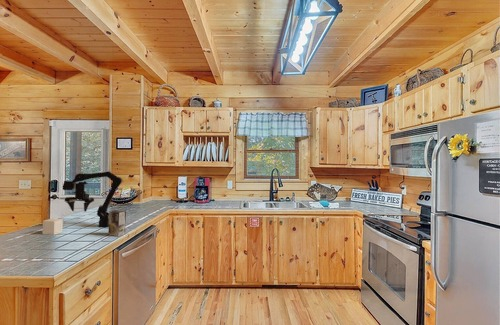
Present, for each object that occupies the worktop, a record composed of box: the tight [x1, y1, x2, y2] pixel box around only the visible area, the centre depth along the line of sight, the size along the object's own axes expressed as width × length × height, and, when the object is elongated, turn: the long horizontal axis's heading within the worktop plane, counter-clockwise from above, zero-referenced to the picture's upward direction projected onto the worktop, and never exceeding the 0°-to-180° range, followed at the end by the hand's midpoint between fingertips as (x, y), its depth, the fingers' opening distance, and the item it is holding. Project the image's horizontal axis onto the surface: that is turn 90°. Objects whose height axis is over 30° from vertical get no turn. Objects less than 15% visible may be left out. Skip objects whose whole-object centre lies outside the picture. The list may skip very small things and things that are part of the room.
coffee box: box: [107, 209, 127, 237], centre depth 180 cm, size 9×6×16 cm
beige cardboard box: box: [42, 218, 64, 236], centre depth 178 cm, size 8×8×9 cm
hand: (79, 211), depth 195 cm, fingers open, 9 cm apart
